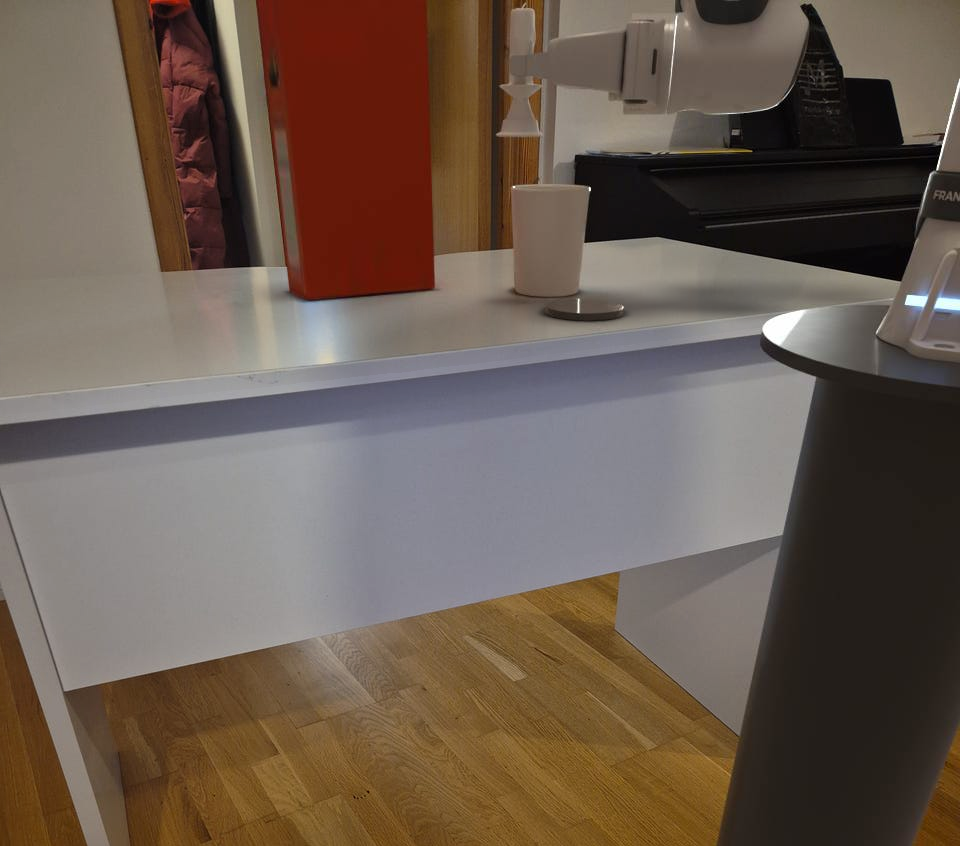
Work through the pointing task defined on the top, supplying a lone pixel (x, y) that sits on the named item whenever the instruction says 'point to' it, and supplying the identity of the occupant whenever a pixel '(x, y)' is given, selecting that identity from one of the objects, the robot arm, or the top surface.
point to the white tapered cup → (548, 238)
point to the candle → (521, 78)
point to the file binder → (351, 143)
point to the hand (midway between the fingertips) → (513, 66)
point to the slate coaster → (584, 309)
